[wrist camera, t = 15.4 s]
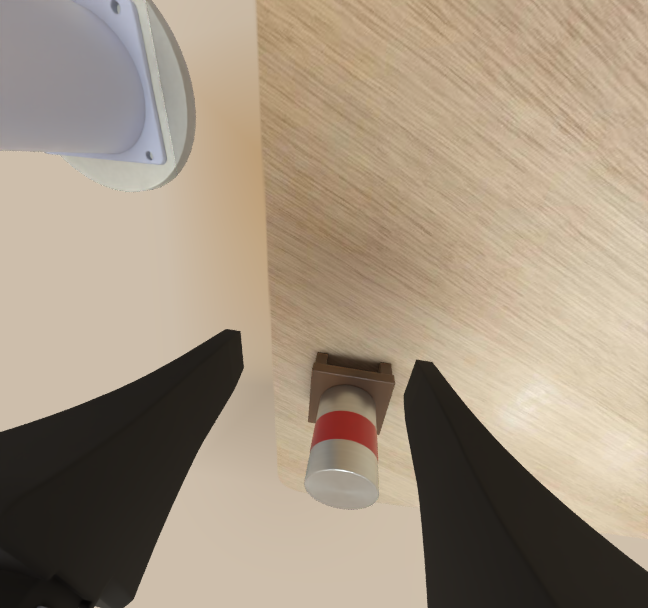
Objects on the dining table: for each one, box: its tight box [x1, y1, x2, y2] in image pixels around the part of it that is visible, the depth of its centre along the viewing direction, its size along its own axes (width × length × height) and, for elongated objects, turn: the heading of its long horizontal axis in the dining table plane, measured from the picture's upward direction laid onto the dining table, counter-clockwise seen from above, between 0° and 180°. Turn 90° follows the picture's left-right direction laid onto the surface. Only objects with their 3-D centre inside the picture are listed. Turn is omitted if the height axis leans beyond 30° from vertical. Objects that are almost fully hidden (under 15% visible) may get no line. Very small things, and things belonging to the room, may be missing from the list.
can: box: [304, 385, 379, 510], centre depth 20 cm, size 5×5×7 cm
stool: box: [308, 352, 395, 435], centre depth 24 cm, size 7×7×2 cm
